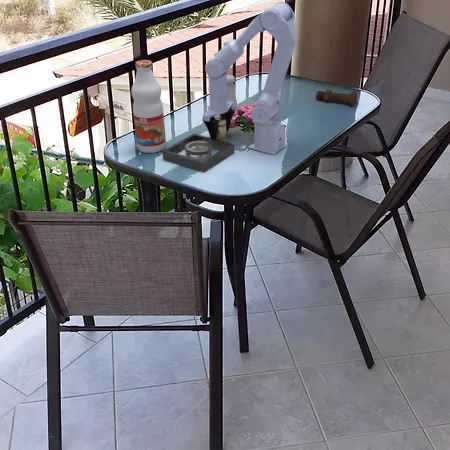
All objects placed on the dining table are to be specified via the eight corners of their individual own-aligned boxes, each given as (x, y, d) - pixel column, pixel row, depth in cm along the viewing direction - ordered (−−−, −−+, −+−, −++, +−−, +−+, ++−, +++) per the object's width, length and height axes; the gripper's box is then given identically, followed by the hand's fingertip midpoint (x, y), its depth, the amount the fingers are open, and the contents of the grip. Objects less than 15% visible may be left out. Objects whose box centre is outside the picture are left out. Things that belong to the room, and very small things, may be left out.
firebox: (234, 152, 187) (234, 142, 185) (204, 172, 176) (203, 162, 174) (194, 141, 195) (193, 132, 193) (163, 159, 184) (162, 149, 182)
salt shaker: (235, 113, 215) (235, 78, 208) (220, 112, 216) (219, 78, 209) (238, 107, 220) (238, 73, 213) (223, 107, 221) (222, 73, 214)
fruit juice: (171, 143, 194) (164, 59, 179) (158, 155, 187) (150, 68, 172) (145, 139, 197) (137, 56, 182) (132, 151, 190) (121, 65, 175)
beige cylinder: (229, 138, 197) (228, 118, 193) (221, 143, 193) (220, 123, 190) (218, 135, 199) (217, 115, 195) (210, 140, 196) (209, 120, 192)
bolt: (317, 103, 227) (355, 108, 221) (313, 101, 222) (352, 105, 216) (320, 88, 226) (358, 92, 220) (316, 85, 222) (355, 90, 216)
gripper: (221, 86, 195) (222, 124, 202) (194, 99, 185) (196, 139, 192) (239, 90, 191) (239, 129, 199) (212, 103, 181) (214, 144, 189)
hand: (219, 134), depth 195 cm, fingers open, 6 cm apart
